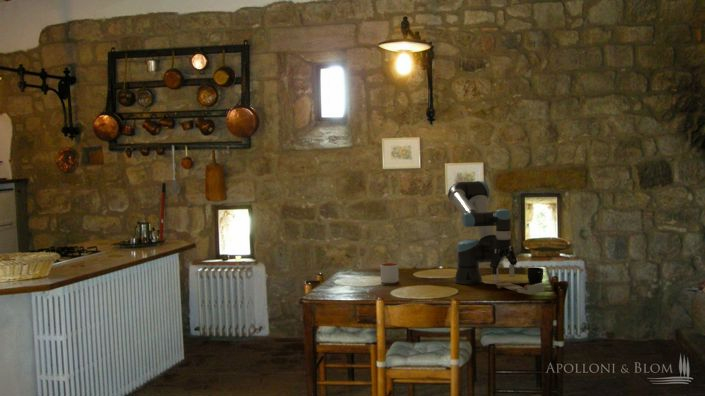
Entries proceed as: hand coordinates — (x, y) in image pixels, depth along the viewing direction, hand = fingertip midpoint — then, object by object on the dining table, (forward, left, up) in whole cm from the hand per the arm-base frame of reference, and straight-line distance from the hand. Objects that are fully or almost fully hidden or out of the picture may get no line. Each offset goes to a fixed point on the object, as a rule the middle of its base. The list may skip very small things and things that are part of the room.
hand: (504, 278), depth 357 cm
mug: (+12, +12, -5) cm, 18 cm away
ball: (+16, -2, -3) cm, 17 cm away
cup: (-56, -30, -5) cm, 64 cm away
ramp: (+5, 0, -5) cm, 7 cm away
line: (+13, 0, -5) cm, 14 cm away
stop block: (+16, 0, -5) cm, 17 cm away
